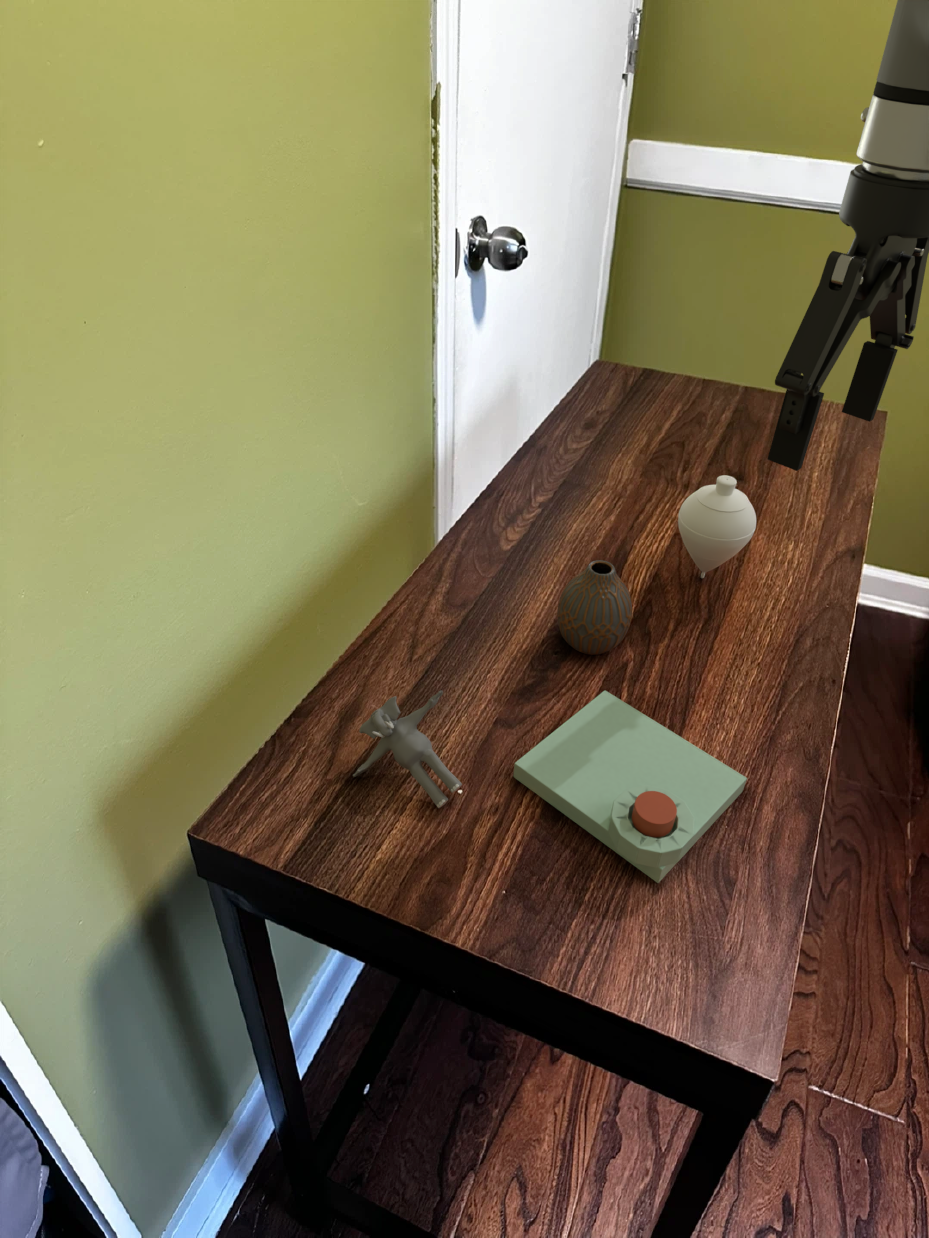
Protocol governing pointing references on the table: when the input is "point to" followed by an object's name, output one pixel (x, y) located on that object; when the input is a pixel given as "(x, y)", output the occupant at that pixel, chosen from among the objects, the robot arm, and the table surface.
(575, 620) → the vase
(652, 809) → the button
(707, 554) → the spinning top
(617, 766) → the green push button box
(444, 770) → the elephant figurine
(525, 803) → the table surface
